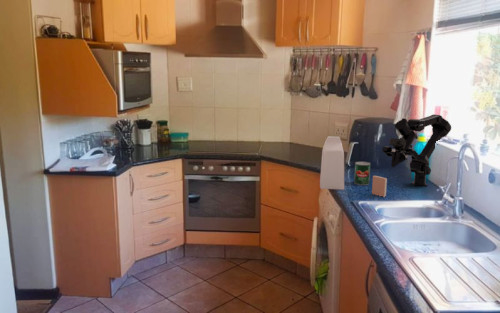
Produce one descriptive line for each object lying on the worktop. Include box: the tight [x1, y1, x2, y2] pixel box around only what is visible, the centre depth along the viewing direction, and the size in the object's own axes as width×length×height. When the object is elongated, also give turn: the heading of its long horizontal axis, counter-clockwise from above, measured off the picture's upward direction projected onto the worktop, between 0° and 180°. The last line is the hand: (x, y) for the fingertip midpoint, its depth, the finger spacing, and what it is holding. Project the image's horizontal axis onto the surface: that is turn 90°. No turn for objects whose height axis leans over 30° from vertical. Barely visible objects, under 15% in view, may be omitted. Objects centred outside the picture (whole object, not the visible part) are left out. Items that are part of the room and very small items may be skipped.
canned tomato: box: [353, 161, 371, 186], centre depth 236 cm, size 8×8×11 cm
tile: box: [371, 175, 388, 198], centre depth 215 cm, size 2×7×9 cm, turn 36°
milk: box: [319, 136, 345, 190], centre depth 229 cm, size 12×12×26 cm
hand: (392, 166), depth 218 cm, fingers closed
